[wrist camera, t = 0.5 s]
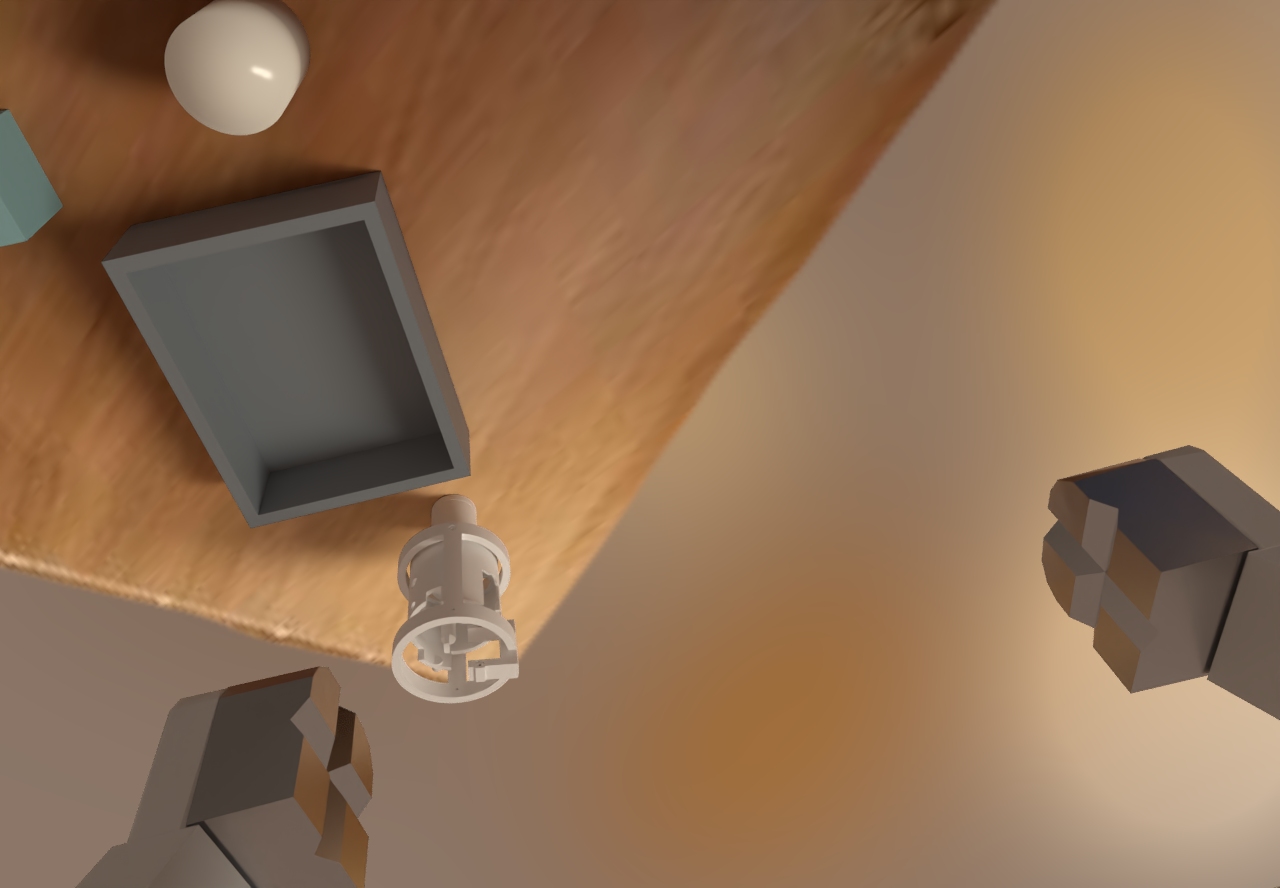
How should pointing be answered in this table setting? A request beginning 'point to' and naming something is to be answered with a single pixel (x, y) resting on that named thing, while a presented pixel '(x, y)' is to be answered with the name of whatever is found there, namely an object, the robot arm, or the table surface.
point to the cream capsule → (237, 63)
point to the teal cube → (22, 187)
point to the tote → (298, 346)
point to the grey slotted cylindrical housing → (454, 605)
